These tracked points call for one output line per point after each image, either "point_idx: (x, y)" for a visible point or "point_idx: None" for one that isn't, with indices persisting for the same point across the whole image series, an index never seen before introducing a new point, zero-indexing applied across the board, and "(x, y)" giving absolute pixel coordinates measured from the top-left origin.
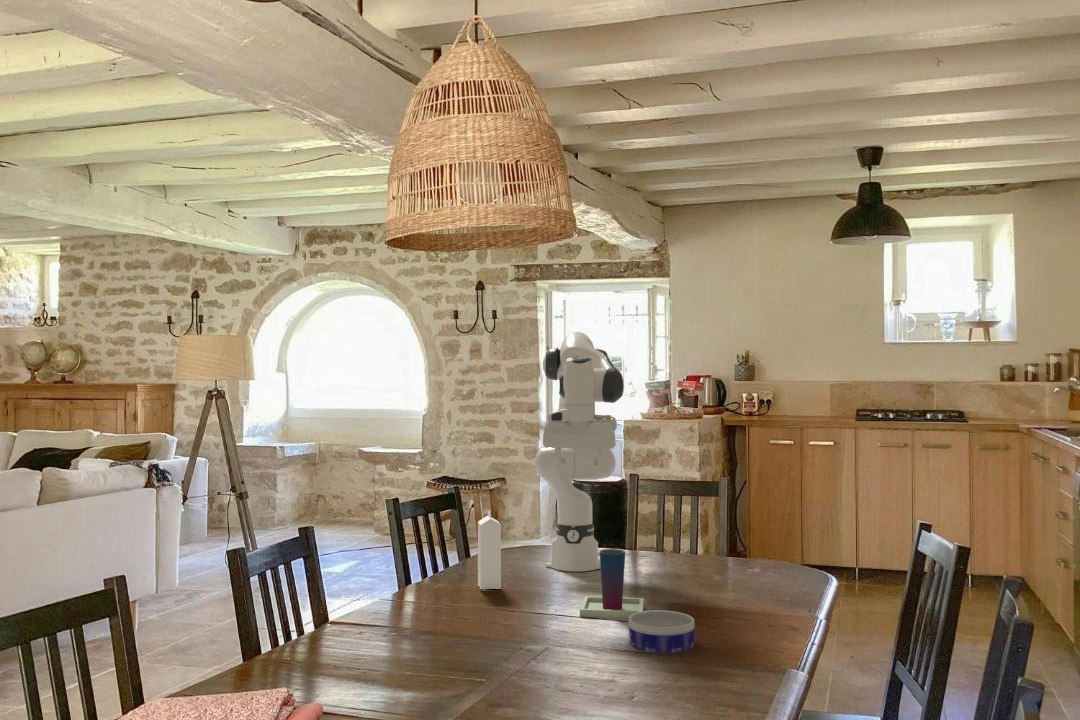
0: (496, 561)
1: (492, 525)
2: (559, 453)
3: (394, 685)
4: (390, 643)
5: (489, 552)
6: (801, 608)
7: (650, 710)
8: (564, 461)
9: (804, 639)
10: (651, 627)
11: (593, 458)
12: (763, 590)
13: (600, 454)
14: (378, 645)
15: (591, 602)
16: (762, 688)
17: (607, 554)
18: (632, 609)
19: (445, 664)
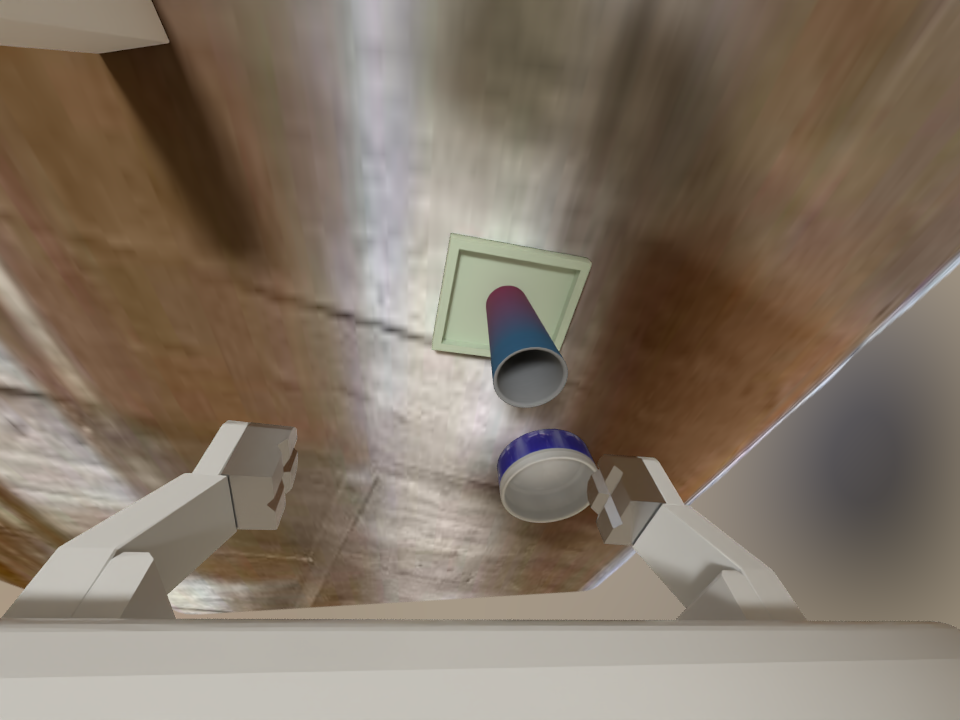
0: (85, 35)
1: None
2: (167, 571)
3: (212, 575)
4: (116, 471)
5: (21, 37)
6: (883, 295)
7: (479, 596)
8: (283, 477)
9: (744, 445)
10: (524, 520)
11: (611, 531)
12: (953, 122)
13: (692, 593)
14: (102, 479)
15: (466, 254)
16: (597, 560)
17: (510, 403)
18: (547, 313)
19: (247, 530)
